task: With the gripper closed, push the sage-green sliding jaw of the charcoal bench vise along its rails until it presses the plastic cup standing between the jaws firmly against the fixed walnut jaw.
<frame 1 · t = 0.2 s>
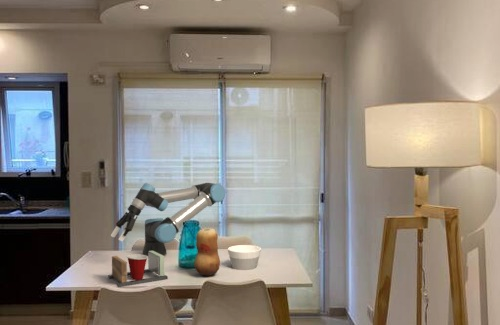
hand: (116, 238, 272), 16 cm above the table, tool tilted 35°, fingers open, 13 cm apart
vise bed: (137, 278, 245), on the table
bowl: (244, 267, 268), on the table
sliding jaw: (155, 262, 250), point 7 cm above the table, slide at 0.0 cm
butternut squash: (207, 275, 251), on the table
plastic cup: (137, 278, 245), resting in vise bed
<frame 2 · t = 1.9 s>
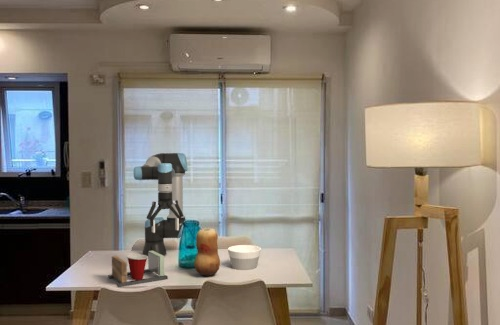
hand: (165, 231, 253), 23 cm above the table, tool pointing down, fingers open, 13 cm apart
nothing on the table moved.
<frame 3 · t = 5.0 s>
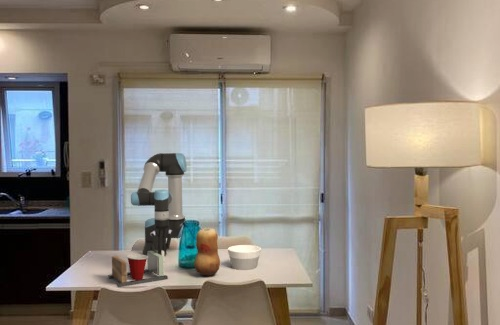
hand: (162, 262, 252), 6 cm above the table, tool pointing down, fingers closed
sliding jaw: (154, 263, 250), point 7 cm above the table, slide at 0.6 cm, touching gripper
everything else where it was.
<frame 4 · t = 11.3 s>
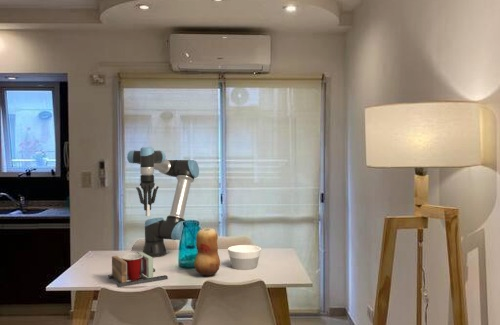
hand: (147, 215, 267), 29 cm above the table, tool pointing down, fingers closed
sliding jaw: (144, 264, 247), point 7 cm above the table, slide at 6.2 cm, touching plastic cup
plastic cup: (135, 278, 244), resting in vise bed, touching sliding jaw
everything else where it was.
at the end: sliding jaw touching plastic cup; plastic cup 1.2 cm from the target spot, resting in vise bed; plastic cup tilted 7° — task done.
